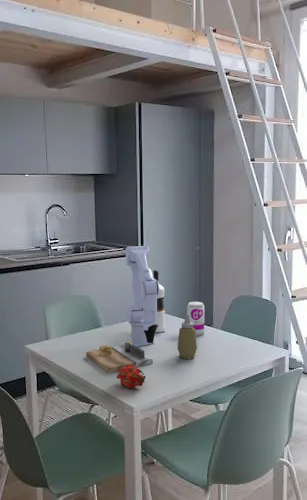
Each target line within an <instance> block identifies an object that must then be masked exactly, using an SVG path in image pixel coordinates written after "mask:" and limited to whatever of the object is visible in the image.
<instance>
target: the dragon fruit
mask: <svg viewBox="0 0 307 500" xmlns="http://www.w3.org/2000/svg"><path fill="white" fill-rule="evenodd" d="M115 378H116V379H117V380H118V379H119V380H120V382H119V383H120V384H121V387H122V388H124V387H125V386H126V387H127V388H128V389H130V390H135V391H136V390H138V388H137V387H143V385H144V383H145V379H146V375H145V374H144V373H143V371H142V370H141V369H139V368H138V367H136V366H135V365H131V364H129V363H128V364H126V365H123V366H122V367H121V368H120V369H119V371H118V373H117V375H116V377H115Z"/></svg>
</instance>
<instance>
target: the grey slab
mask: <svg viewBox="0 0 307 500" xmlns="http://www.w3.org/2000/svg"><path fill="white" fill-rule="evenodd" d="M85 353H86V354H85V355H86V356H85V357H86V358H88V359H89V361H92V362H93V363H95V364H96V365H97V366H98V367H100V368H101V369H103V370H104V371H105V372H107V373H108V374H112V373H116V372H119V369H120V368H121V367H122V366H123V365H126V364H128V363H129V364H131V365H135V366H136V368H139V367H142V366H147V365H151V364H153V363H154V359H153V357H150V356H149V355H147V354H146V353H144V355H145V358H144V359H141V358H139V357H138V356H136V355H134V354H133V353H131V352H129V351H125V344H120V345H115V346H110V345H109V344H106V345H100V346H99V349H95V350H89V351H86V352H85Z"/></svg>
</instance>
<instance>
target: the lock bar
mask: <svg viewBox="0 0 307 500" xmlns="http://www.w3.org/2000/svg"><path fill="white" fill-rule="evenodd" d="M124 345H125V351H129V352H131V353H133V354H134V355H136V356H138V357H139V358H141V359H144V358H145V355H144V354H145V350H143V349H142V348H140V347H139V346H138V347H136V346H134V345H133V343H132V342H131V340H128V341H127V340H126V342H125V343H124Z"/></svg>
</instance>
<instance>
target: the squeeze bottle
mask: <svg viewBox="0 0 307 500" xmlns="http://www.w3.org/2000/svg"><path fill="white" fill-rule="evenodd" d="M178 331H179V332H178V342H177V351H178V354H179V356H180V358H182V359H186V360H188V359H189V360H191V359H193V358H195V356H196V352H197V349H198V343H197V336H196V332H195V329H194V328H193V323H192V322H190V318H189V314H187V313H186V314H185V317H184V321H182V323H181V327H180V328H179V330H178Z"/></svg>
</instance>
